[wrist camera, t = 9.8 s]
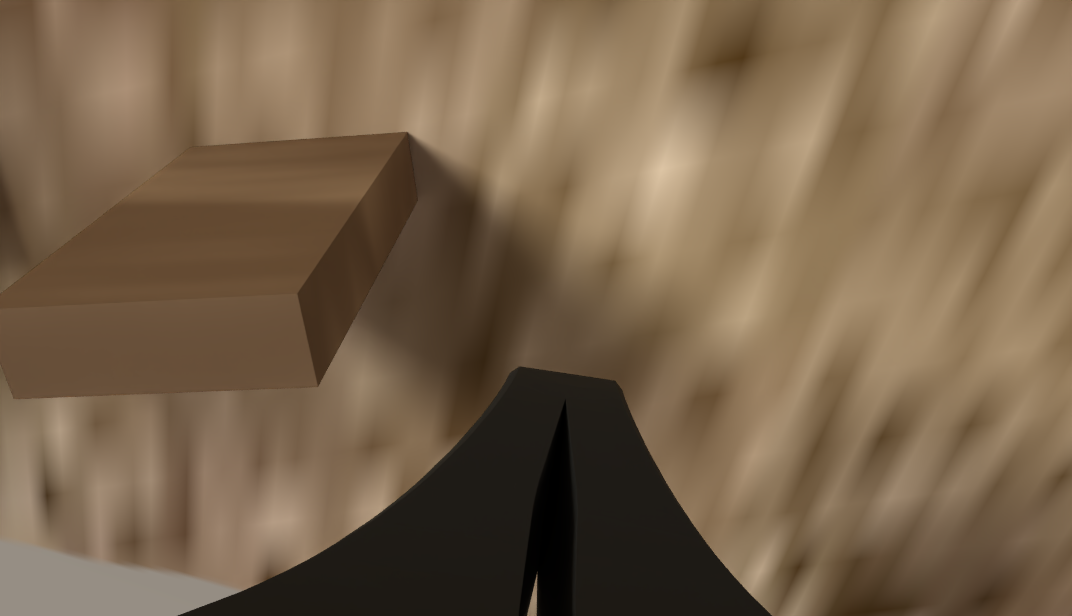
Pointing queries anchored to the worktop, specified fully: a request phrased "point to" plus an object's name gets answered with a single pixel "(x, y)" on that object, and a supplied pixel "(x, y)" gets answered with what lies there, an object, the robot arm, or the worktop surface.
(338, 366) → the worktop surface
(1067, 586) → the worktop surface
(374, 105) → the worktop surface
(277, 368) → the domino
